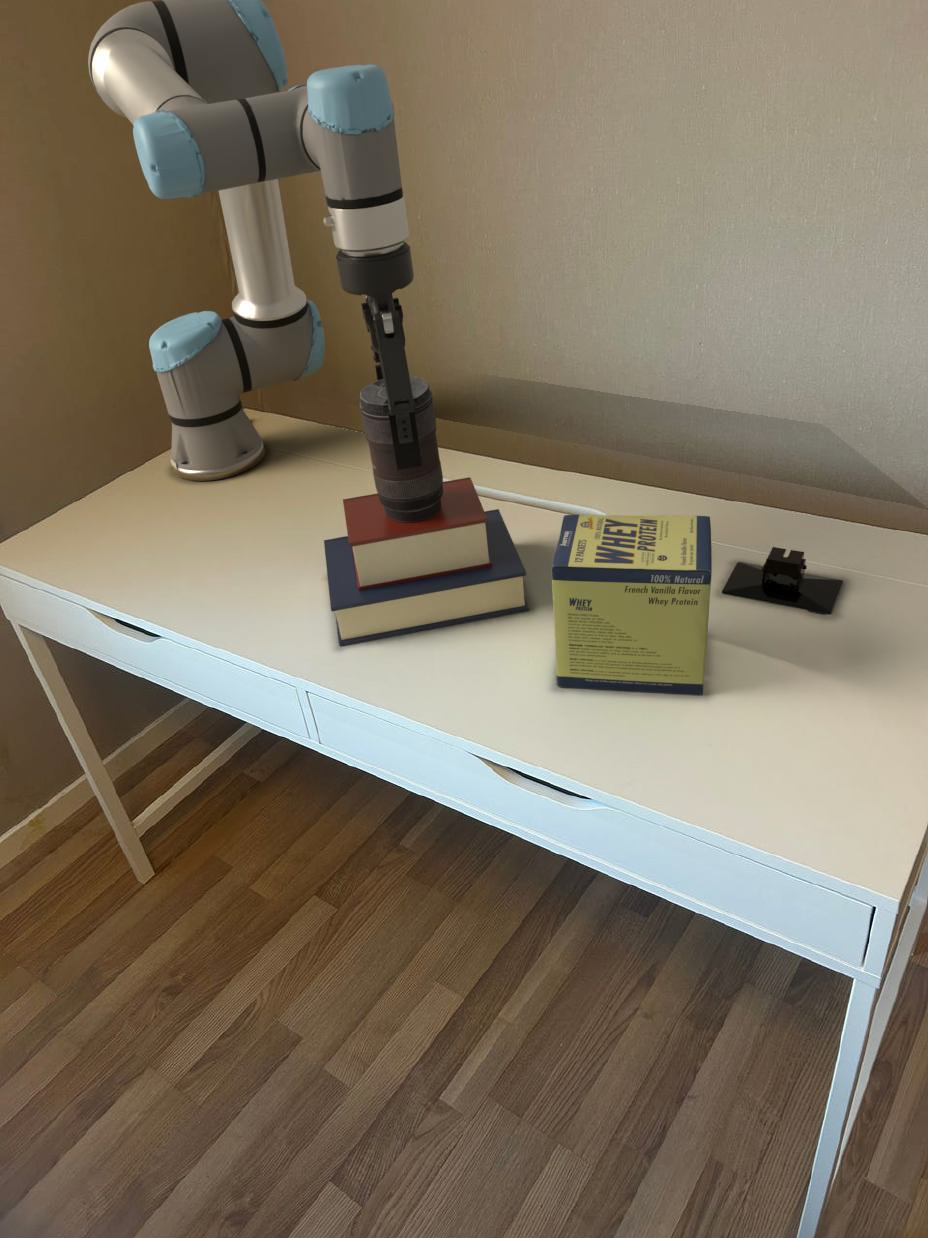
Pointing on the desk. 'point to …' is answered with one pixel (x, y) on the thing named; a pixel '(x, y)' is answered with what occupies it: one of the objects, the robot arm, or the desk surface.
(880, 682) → the desk surface
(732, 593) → the build plate
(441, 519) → the dictionary
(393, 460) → the camera lens
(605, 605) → the protein box
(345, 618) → the encyclopedia
